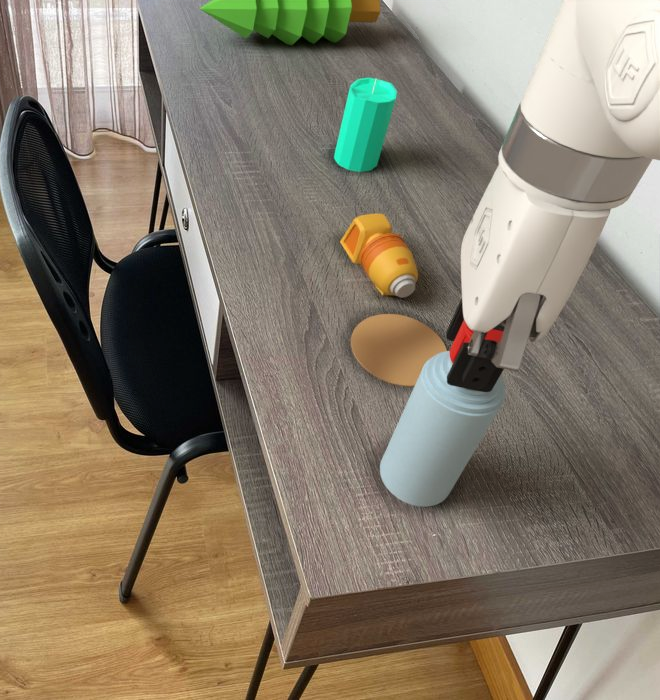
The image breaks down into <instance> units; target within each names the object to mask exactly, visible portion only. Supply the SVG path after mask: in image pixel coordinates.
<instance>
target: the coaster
mask: <svg viewBox="0 0 660 700" xmlns="http://www.w3.org/2000/svg"><path fill="white" fill-rule="evenodd" d="M350 346H351V351H352V354H353V356H354V358H355V360H356V361H357V362H358V364H359V365H360V366H361V367H362V368H363V369H364V370H365V371H366V372H367V373H368V374H370V375H371V376H374V377H375V378H377V379H378V380H380V381H382V382H385V383H387V384H390V385H393V386H399V387H408V388H412V387H413V388H414V386H415V384H416V382H417V380H418V377H419V375H420V373H421V371H422V368H423V366H424V364H425V363H426V362H427V361H428V360H429V359H430V358H432V357H433V356H435V355H437V354H439V353H441V352H444V351H448V350H447V347H446V345H445V342H444V341H443V340H442V338H441V336H439V334H438V333H437V332H436V331H435V330H433V329H432V328H431V327H429V326H428V325H427V324H425V323H424V322H421V321H419V320H417V319H415V318H412V317H410V316H406V315H402V314H395V313H381V314H376V315H372V316H368V317H367V318H365V319H363V320H362V321H361V322H359V323H358V324H357V325H356V326H355V328H354V329H353V331H352V334H351V338H350Z"/></svg>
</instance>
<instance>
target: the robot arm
mask: <svg viewBox="0 0 660 700" xmlns="http://www.w3.org/2000/svg"><path fill="white" fill-rule="evenodd" d="M497 159H498V165H497V167H496V169H495V171H494V173H493V175H492V177H491V179H490V181H489V183H488V185H487V186H486V189H485V191H484V193H483V194H482V197H481V199H480V201H479V203H478V205H477V208H476V210H475V212H474V214H473V216H472V218H471V220H470V222H469V223H468V226H467V229H466V231H465V233H464V236H463V238H462V242H461V245H460V247H461V248H460V281H461V298H460V301H459V302H458V305H457V307H456V309H455V311H454V314H453V315H452V318H451V320H450V322H449V325H448V327H447V329H446V332H445V337H446V339H447V340H448V341H450V342H452V343H453V342H454V340H455V338H456V336H457V334H458V331H459V329H460V327H461V325H462V323H463V321H464V320H465V322H466V324H467V326H468V327H469V328H470V329H471V330H473V331H474V332H473V334H472V337H471V339H470V342H469V343H465V342H463V344H462V346H461V348H460V350H459V352H458V354H457V357H456V359H455V361H454V363H453V365H452V367H451V369H450V371H449V373H448V375H447V383H448V384H449V385H451V386H456V387H461V388H466V389H471V390H476V391H481V392H490V391H492V389H493V387H494V386H495V384H496V382H497V380H498V379H499V377H500V375H501V376H502V374H503V372H504V370H507V371H513V372H518V371H519V370H520V367H521V365H522V361H523V358H524V355H525V352H526V348H527V344H528V341H529V340H530V342H532V343H535V342H538V341H539V340H541V339H543V338H544V336H546V335H547V333H548V332H549V331H550V329H551V328H552V326H553V325H554V323H555V322H556V321H557V319H558V317H559V316H560V314H561V312H562V311H563V309H564V307H565V306H566V304H567V302H568V300H569V299H570V296H571V295H572V293H573V291H574V289H575V288H576V285H577V284H578V281H579V280H580V277H582V274H583V272H584V270H585V268H586V267H587V264H588V262H589V260H590V258H591V256H592V255H593V254H592V253H593V252H594V250H595V247H596V245H597V244H598V241H599V239H600V236H601V234H602V232H603V230H604V227H605V226H606V223H607V221H608V218H609V216H610V214H611V210H612V209H615V208H618V207H620V206H622V205H623V204H625V203H626V202H628V201H629V199H630V198H631V196H632V194H633V192H634V191H635V189H636V188H637V186H638V184H639V182H640V181H641V179H642V178H643V176H644V174H645V173H646V171H647V169H648V168H649V167H650V165H651V163H652V161H653V160H656V161H660V0H562V2H561V4H560V7H559V10H558V12H557V13H556V16H555V19H554V21H553V24H552V26H551V29H550V31H549V33H548V36H547V38H546V41H545V43H544V45H543V47H542V50H541V53H540V55H539V56H538V60H537V62H536V65H535V66H534V69H533V72H532V73H531V76H530V79H529V81H528V84H527V86H526V89H525V91H524V93H523V95H522V98H521V100H520V102H519V104H518V107H517V109H516V111H515V114H514V116H513V118H512V121H511V123H510V126H509V128H508V130H507V133H506V135H505V137H504V140H503V143H502V145H501V147H500V150H499V152H498V155H497ZM491 329H494V330H499V331H503V334H502V338H501V341H500V342H497V341H493V340H485V337H486V335H487V333H488V331H490V330H491Z"/></svg>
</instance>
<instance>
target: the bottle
mask: <svg viewBox="0 0 660 700" xmlns="http://www.w3.org/2000/svg"><path fill="white" fill-rule="evenodd" d="M452 365H453V363H452V361H451V359H450V350H447V351H444V352H441V353H439V354H437V355H435V356H433V357H432V358H430V359H429V360H428V361H427V362H426V363H425V364H424V366H423V368H422V371H421V373H420V375H419V377H418V380H417V382H416V384H415V386H414V387H413V388H412V391H411V393H410V395H409V398H408V400H407V402H406V403H405V407H404V409H403V411H402V413H401V415H400V418H399V420H398V422H397V424H396V427H395V428H394V431H393V433H392V436H391V438H390V440H389V442H388V445H387V447H386V449H385V451H384V453H383V455H382V458H381V461H380V464H379V474H380V477H381V480H382V482H383V484H384V486H385V487H386V489H387V490H388V492H389V493H391V494H392V495H393V496H394V497H395V498H396V499H398V500H400V501H401V502H403V503H405V504H407V505H410V506H415V507H420V508H421V507H423V508H426V507H428V508H429V507H433V506H436V505H439V504H441V503H442V502H444V501H445V500H446V499H447V498H448V496H449V495H450V493H451V492H452V490H453V488H454V487H455V485H456V483H457V482H458V480H459V479H460V476H461V475H462V473H463V472H464V470H465V468H466V466H467V465H468V463H469V462H470V460H471V459H472V456H473V455H474V453H475V452H476V450H477V448H478V447H479V445H480V444H481V442H482V440H483V438H484V437H485V435H486V433H487V431H488V430H489V428H490V426H491V425H492V423H493V422H494V420H495V418H496V416H497V415H498V413H499V411H500V410H501V408H502V406H503V405H504V403H505V400H506V385H505V381H504V379H503V377H502V374H501V375H500V377H499V379H498V380H497V382H496V384H495V386H494V387H493V389H492V391H490V392H481V391H476V390H471V389H466V388H461V387H456V386H451V385H449V384H448V383H447V375H448V373H449V371H450V369H451V367H452Z"/></svg>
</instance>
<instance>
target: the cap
mask: <svg viewBox="0 0 660 700" xmlns="http://www.w3.org/2000/svg"><path fill="white" fill-rule="evenodd" d="M473 332H474V331H473V330H471V329H470V328H469V327H468V326H467V324H466V322H465V320H464V321H463V323H462V325H461V327H460V329H459V331H458V334H457V336H456V338H455V340H454V342H453V341H452V345H451V346H450V349H449V351H450V359H451V361H452V363H454V361H455V359H456V357H457V354H458V352H459V350H460V348H461V346H462V344H463V342H465V343H469V342H470V339H471V337H472V334H473ZM502 334H503V331H499V330H494V329H491V330H490V331H488V333H487V335H486V337H485V340H493V341H497V342H500V341H501V338H502Z"/></svg>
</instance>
